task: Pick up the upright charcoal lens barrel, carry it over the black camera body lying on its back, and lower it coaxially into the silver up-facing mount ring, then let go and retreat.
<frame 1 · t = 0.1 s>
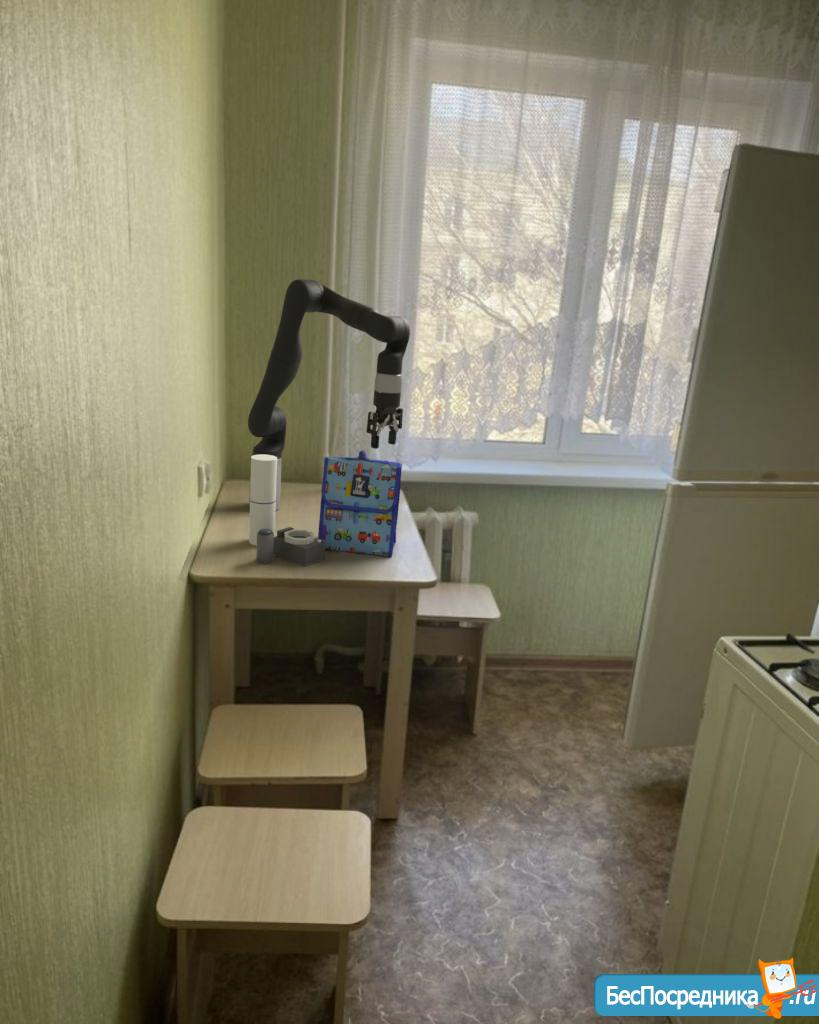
hand: (383, 446, 218), 29 cm above the table, fingers open, 8 cm apart
lunch bag: (357, 546, 223), on the table
cylindrical container: (261, 542, 219), on the table
lens: (264, 561, 205), on the table
camera body: (298, 556, 210), on the table
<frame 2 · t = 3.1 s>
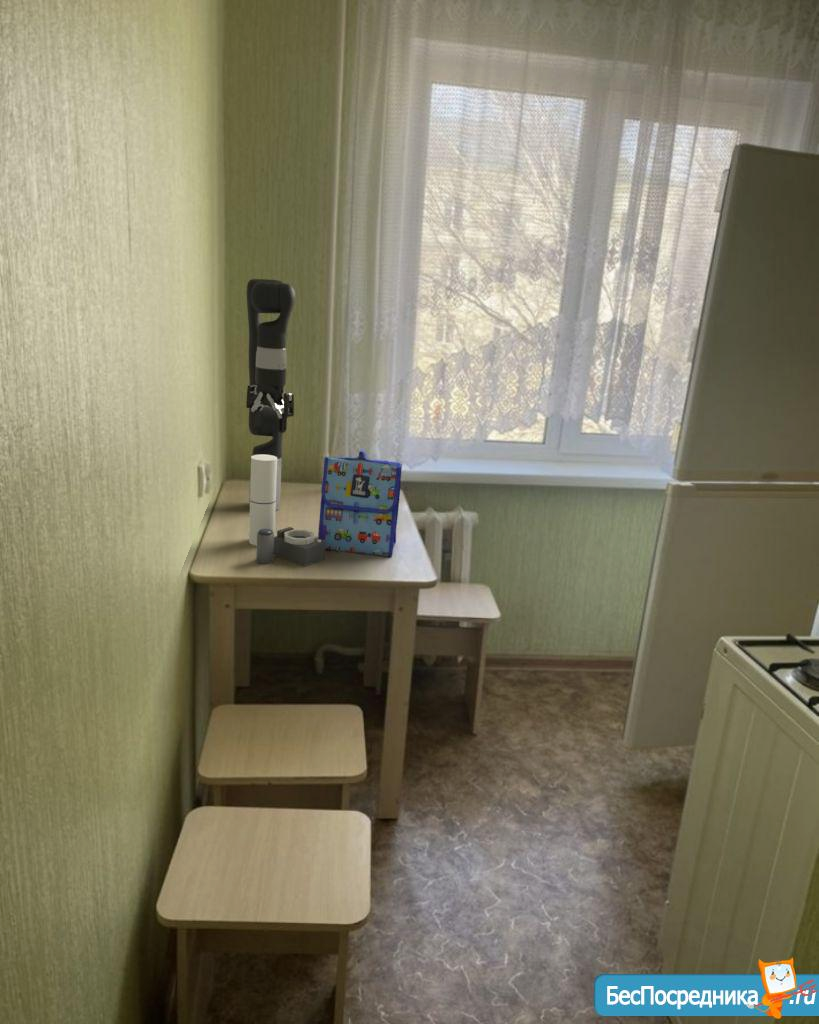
hand: (269, 429, 195), 36 cm above the table, fingers open, 8 cm apart
nothing on the table moved.
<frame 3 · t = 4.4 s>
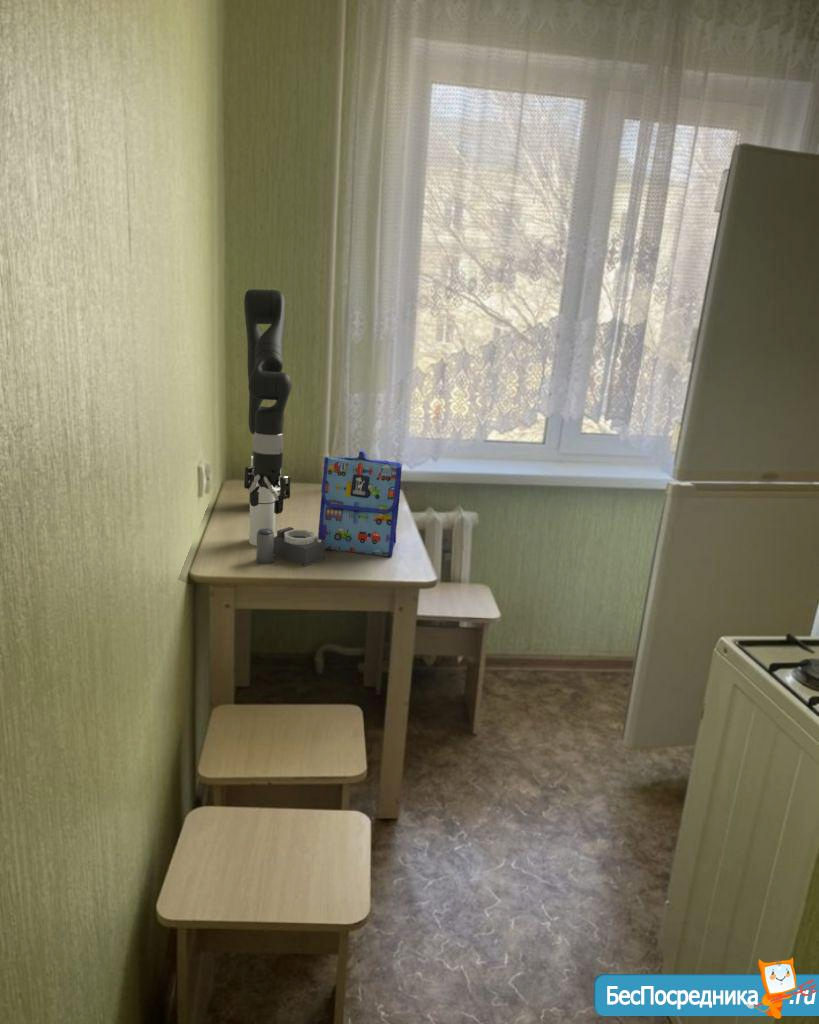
hand: (266, 509, 201), 15 cm above the table, fingers open, 8 cm apart
nothing on the table moved.
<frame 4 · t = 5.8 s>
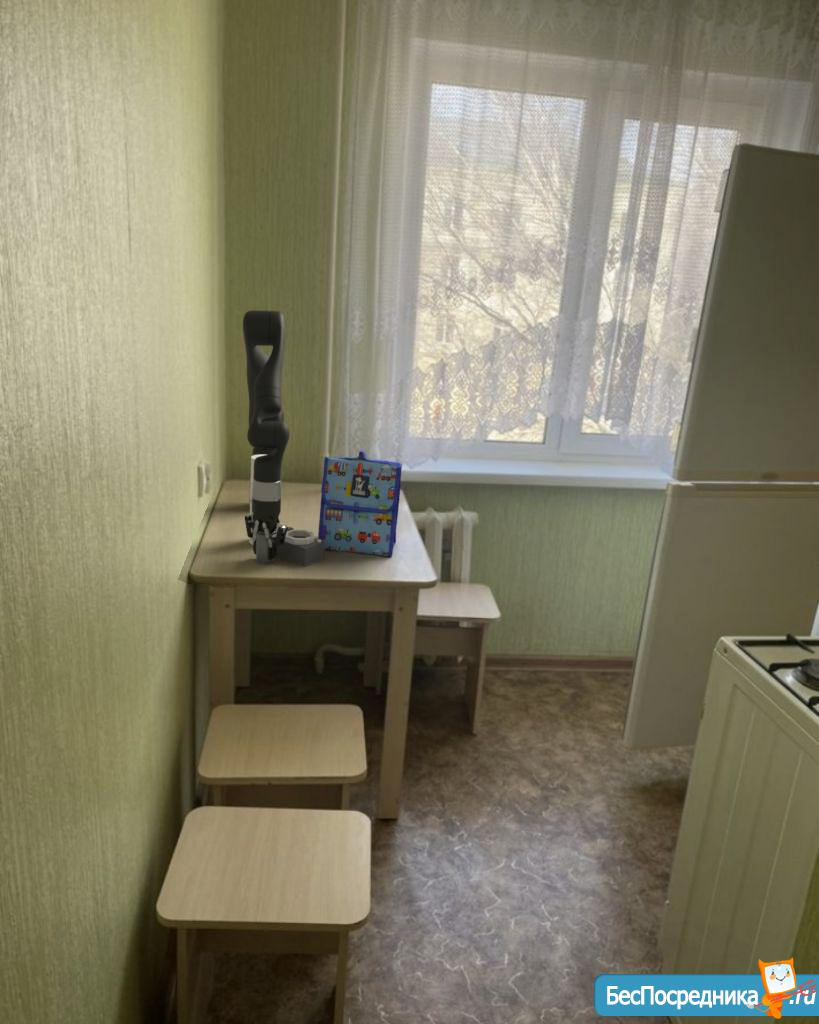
hand: (264, 556, 205), 1 cm above the table, fingers closed on lens, 4 cm apart
lens: (264, 560, 205), on the table, touching gripper
everything else where it was.
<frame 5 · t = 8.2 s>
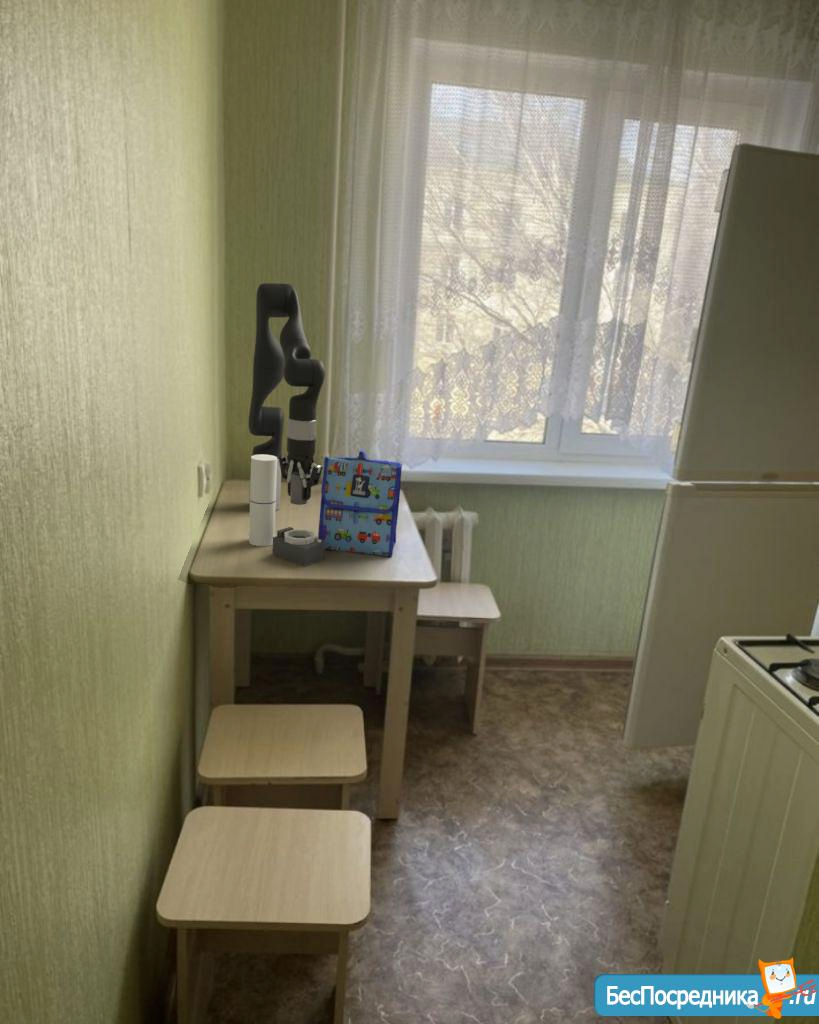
hand: (298, 497, 205), 17 cm above the table, fingers closed on lens, 4 cm apart
lens: (298, 502, 206), point 16 cm above the table, touching gripper
everything else where it was.
when the fingers open (7 cm above the table, at t = 10.5 s): lens stays where it is, resting on camera body.
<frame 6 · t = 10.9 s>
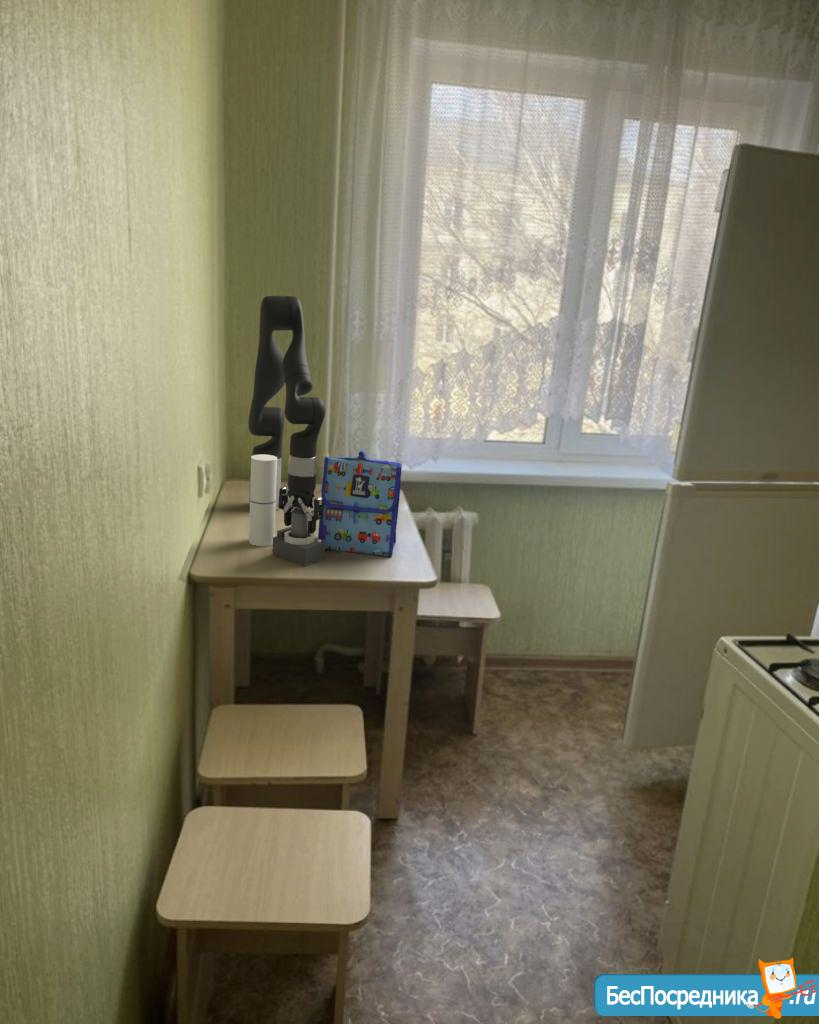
hand: (299, 529, 208), 8 cm above the table, fingers open, 8 cm apart
lens: (298, 539, 209), point 5 cm above the table, touching camera body
everything else where it was.
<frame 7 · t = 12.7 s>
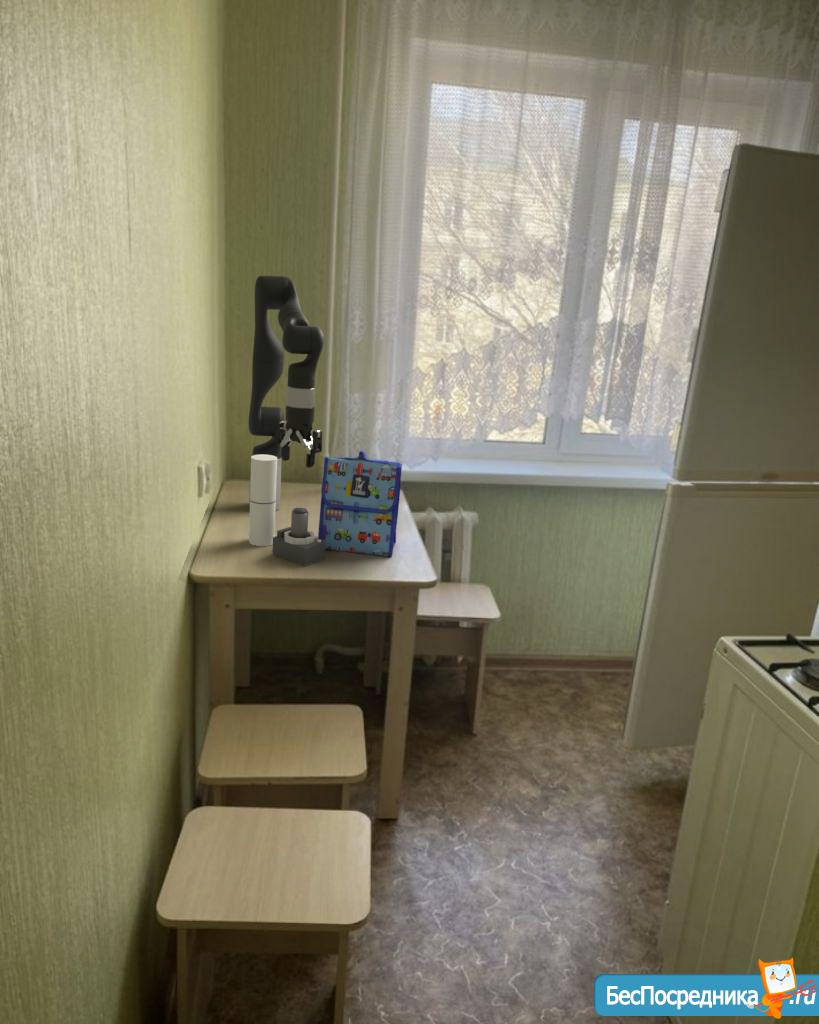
hand: (297, 463, 204), 26 cm above the table, fingers open, 8 cm apart
nothing on the table moved.
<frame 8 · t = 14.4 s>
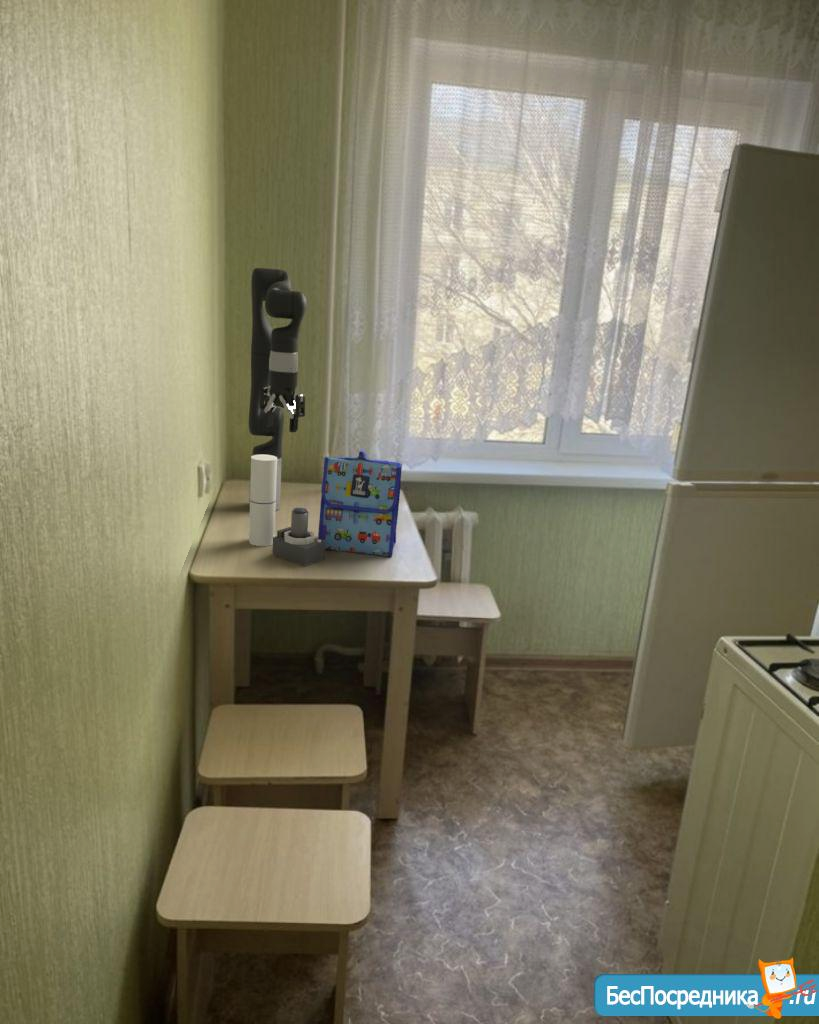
hand: (281, 429, 206), 34 cm above the table, fingers open, 8 cm apart
nothing on the table moved.
at the end: lens 0.1 cm off-centre on the camera body, point 5.0 cm above the camera body's base; lens tilted 0°; the gripper is holding nothing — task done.
